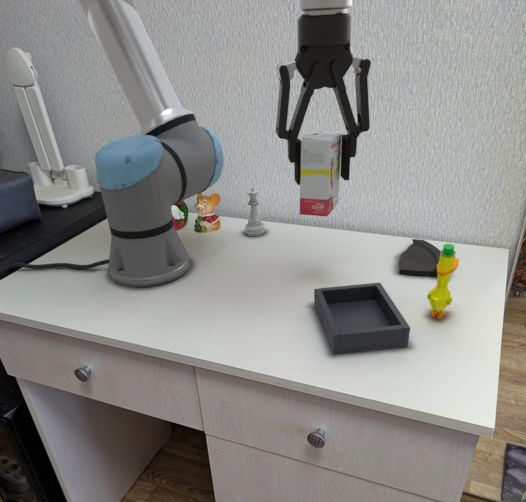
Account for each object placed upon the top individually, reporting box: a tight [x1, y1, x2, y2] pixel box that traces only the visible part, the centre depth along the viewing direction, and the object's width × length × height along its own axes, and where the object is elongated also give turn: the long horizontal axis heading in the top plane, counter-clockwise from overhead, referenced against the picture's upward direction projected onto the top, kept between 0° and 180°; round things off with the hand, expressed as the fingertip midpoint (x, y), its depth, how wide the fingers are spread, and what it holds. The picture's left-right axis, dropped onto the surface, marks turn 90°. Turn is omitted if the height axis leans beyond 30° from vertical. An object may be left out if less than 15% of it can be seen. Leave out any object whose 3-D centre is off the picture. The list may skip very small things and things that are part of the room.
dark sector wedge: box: [398, 238, 441, 277], centre depth 94 cm, size 8×14×2 cm, turn 163°
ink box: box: [299, 130, 344, 217], centre depth 81 cm, size 9×5×12 cm, turn 159°
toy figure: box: [426, 243, 460, 320], centre depth 75 cm, size 7×4×12 cm, turn 142°
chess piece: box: [244, 187, 266, 237], centre depth 106 cm, size 4×4×10 cm
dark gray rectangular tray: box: [313, 282, 411, 355], centre depth 76 cm, size 11×14×3 cm
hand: (321, 179), depth 82 cm, fingers open, 7 cm apart
